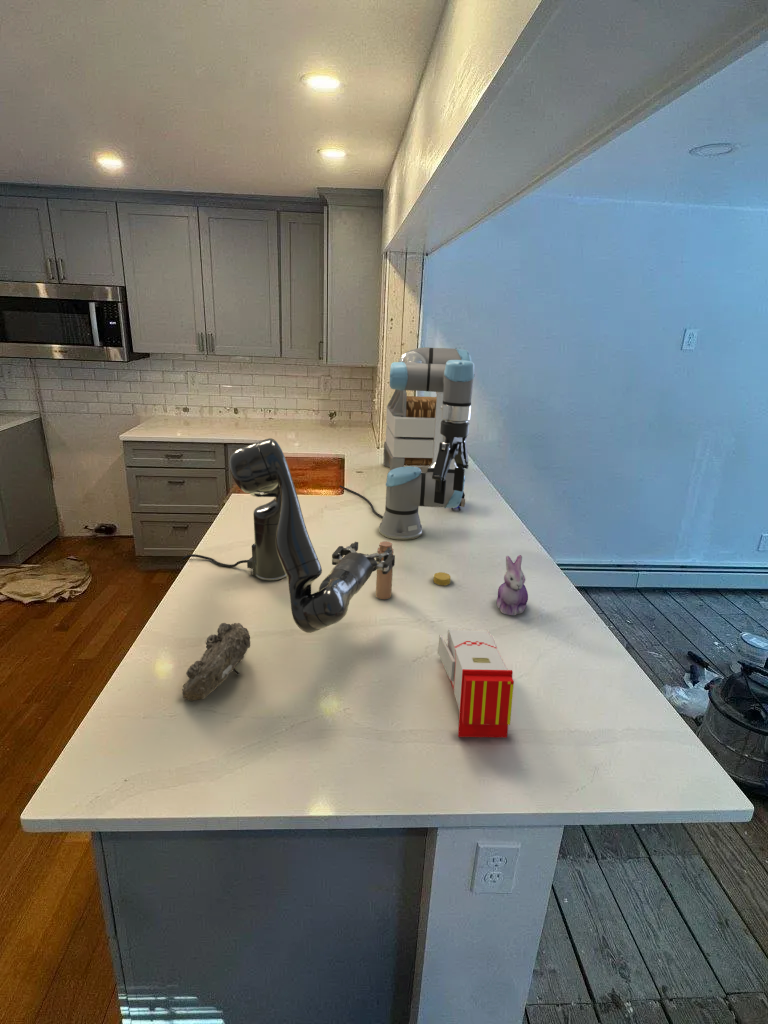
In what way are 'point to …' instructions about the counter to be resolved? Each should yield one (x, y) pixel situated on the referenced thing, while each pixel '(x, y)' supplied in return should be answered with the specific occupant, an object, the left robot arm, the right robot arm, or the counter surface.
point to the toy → (478, 682)
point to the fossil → (217, 660)
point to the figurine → (512, 589)
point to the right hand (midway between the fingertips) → (448, 496)
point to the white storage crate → (409, 430)
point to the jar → (384, 575)
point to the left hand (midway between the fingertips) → (373, 548)
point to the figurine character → (461, 502)
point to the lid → (441, 578)
